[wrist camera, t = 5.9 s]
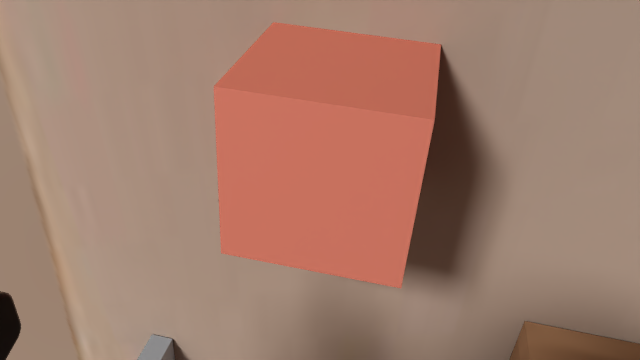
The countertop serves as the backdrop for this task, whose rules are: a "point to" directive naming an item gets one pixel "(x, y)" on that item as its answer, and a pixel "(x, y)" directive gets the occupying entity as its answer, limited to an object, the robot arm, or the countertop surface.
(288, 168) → the cube
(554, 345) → the housing
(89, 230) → the countertop surface
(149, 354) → the pocket
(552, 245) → the countertop surface
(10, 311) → the robot arm
